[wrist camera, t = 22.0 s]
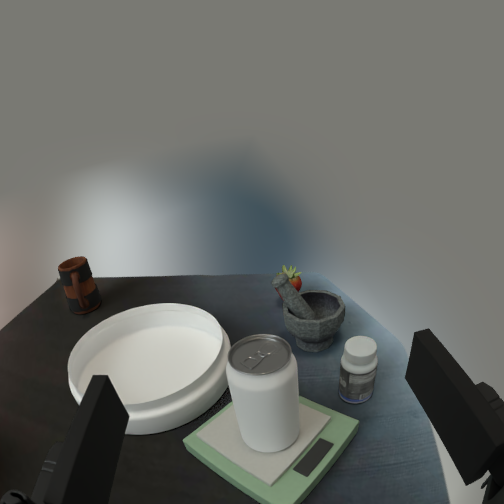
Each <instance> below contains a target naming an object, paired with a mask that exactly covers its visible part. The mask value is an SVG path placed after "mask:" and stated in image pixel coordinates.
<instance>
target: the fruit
mask: <svg viewBox="0 0 504 504" xmlns="http://www.w3.org/2000/svg"><path fill="white" fill-rule="evenodd" d="M284 271H285V272H284ZM291 271H292V265H291V266H290V268H289V270H288V271H287V269H286V267H285V266H284V265H283V266H282V272H283V273H286V274H287V275H288V280H289V281H290V282H291V284H292V285H293V286H294V287H295V289H296V290H297V291H298V292H299V290H300V288H301V285H302V282H301V279H300V277H299V276H298V275H299V274H300V273H301V272H299V273H295V271H296V267H295V268H294V269H293V271H292V272H291ZM283 273H277V276H278V275H280V274H283ZM275 289H276V288H275ZM276 290H277V289H276ZM277 292H278V290H277ZM278 294H279V292H278ZM279 295H280V294H279ZM280 297H281V295H280ZM281 298H282V297H281ZM282 300H283V298H282ZM283 301H284V300H283Z"/></svg>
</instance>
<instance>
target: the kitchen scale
mask: <svg viewBox="0 0 504 504" xmlns="http://www.w3.org/2000/svg"><path fill="white" fill-rule="evenodd" d="M299 422H300V428H299V434H298V437H297V439H296V440H295V441H294V442H293V443H292V444H291V445H290V446H289V447H287V448H285V449H283V450H280V451H277V452H260V451H256V450H254V449H252V448H250V447H249V446H248V445H247V444H246V443H245V442H244V440H243V438H242V436H241V432H240V429H239V425H238V421H237V417H236V413H235V409H234V405H233V401H232V402H231V403H229V404H228V405H227V406H226V407H224V408H223V409H222V410H221V411H219V412H218V413H217V414H216V415H214V416H213V417H212V418H211V419H209V420H208V421H207V422H206V423H204V424H203V425H202V426H200V427H199V428H198V429H196V430H195V431H194V432H193V433H191V434H190V435H189V436H187V437H186V438H185V439H183V442H184V444H185V446H186V448H187V450H188V451H189V452H190V453H191V454H193V455H194V456H195V457H196V458H198V459H199V460H200V461H201V462H203V463H204V464H205V465H207V466H208V467H209V468H211V469H212V470H213V471H215V472H216V473H217V474H219V475H220V476H221V477H223V478H224V479H225V480H227V481H228V482H230V483H231V484H232V485H234V486H235V487H237V488H238V489H240V490H241V491H243V492H244V493H246V494H247V495H249V496H250V497H252V498H253V499H255V500H256V501H258V502H259V503H261V504H301V503H302V501H303V500H304V499H305V498H306V497H307V496H308V495H309V493H310V492H311V491H312V490H313V489H314V488H315V486H316V485H317V484H318V483H319V482H320V480H321V479H322V478H323V477H324V476H325V474H326V473H327V472H328V471H329V469H330V468H331V467H332V465H333V464H334V463H335V462H336V460H337V459H338V458H339V456H340V455H341V454H342V452H343V451H344V450H345V448H346V447H347V446H348V444H349V443H350V441H351V440H352V439H353V437H354V436H355V434H356V433H357V430H358V425H359V420H356V419H353V418H351V417H348V416H346V415H343V414H341V413H339V412H336V411H334V410H331V409H329V408H326V407H324V406H322V405H319V404H317V403H315V402H312V401H310V400H308V399H306V398H303V397H301V396H299Z"/></svg>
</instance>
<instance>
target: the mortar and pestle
mask: <svg viewBox="0 0 504 504" xmlns="http://www.w3.org/2000/svg"><path fill="white" fill-rule="evenodd" d="M272 286H273V287H274V288H276V289H277V290H278V292H279V294H280V295H281V297H282V298H283V300H284V303H283V304H282V306H283V314H284V320H285V324H286V328H287V330H288V331H289V332H290V334H291V335H292V336H294V337H296V343H297V347H299V348H301V349H302V350H304V351H308V352H319V351H322V350H324V349H327V348H329V346H330V345H331V343H332V342H333V336H334V334H335V333H336V331H337V330H338V329H339V327H340V326H341V324H342V323H343V320H344V316H345V305H344V303H343V301H342V299H341V297H340V296H338V295H336V294H333V293H331V292H329V291H322V290H307V291H304V292H300V293H298V291H297V290H296V289H295V287H294V286H293V285H292V284H291V282H290V281H289V280H288V275H287V274H286V273H283V274H280V275H278V276H276V277H275V278H274V279H273V280H272Z"/></svg>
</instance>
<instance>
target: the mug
mask: <svg viewBox="0 0 504 504" xmlns="http://www.w3.org/2000/svg"><path fill="white" fill-rule="evenodd" d="M58 271H59V274H60V278H61V282H62V285H63V286H64V289H65V292H66V298H67V302H68V305H69V307H70V310H71V311H73V312H74V313H75V314H85V313H89V312H91V311H93V310H95V309H96V308H97V307H98V306H99V305H100V302H101V296H100V293H99V290H98V288H97V286H96V284H95V283H94V280H93V277H92V272H91V270H90V267H89V264H88V261H87V259H86V258H85V257H75V258H71V259H68V260H66V261H64V262H63V263H61V264H60V265H59V267H58Z"/></svg>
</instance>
